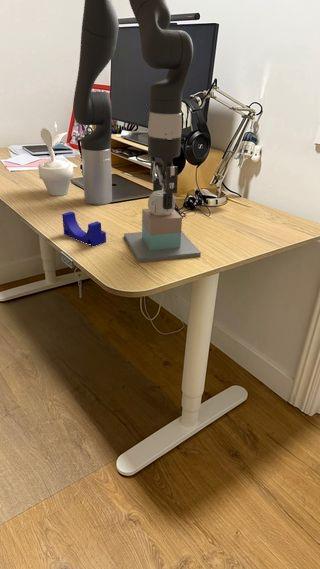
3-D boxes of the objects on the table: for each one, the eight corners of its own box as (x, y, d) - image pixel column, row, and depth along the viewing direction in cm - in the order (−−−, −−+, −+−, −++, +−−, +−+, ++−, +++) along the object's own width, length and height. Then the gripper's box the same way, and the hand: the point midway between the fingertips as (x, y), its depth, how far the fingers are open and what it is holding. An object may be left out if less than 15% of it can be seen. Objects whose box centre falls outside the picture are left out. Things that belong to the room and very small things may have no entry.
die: (147, 213, 99) (147, 193, 96) (158, 208, 102) (159, 189, 100) (164, 217, 96) (164, 197, 94) (175, 212, 100) (176, 192, 98)
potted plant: (56, 200, 133) (48, 120, 120) (34, 193, 139) (24, 116, 126) (84, 192, 142) (79, 117, 129) (62, 186, 148) (55, 113, 135)
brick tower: (124, 236, 108) (123, 204, 104) (179, 232, 112) (181, 201, 108) (138, 262, 95) (138, 227, 91) (200, 256, 99) (203, 222, 95)
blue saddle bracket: (106, 242, 105) (105, 221, 102) (93, 247, 102) (92, 225, 99) (77, 230, 112) (75, 210, 109) (64, 234, 109) (62, 214, 106)
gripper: (140, 129, 95) (140, 195, 103) (157, 140, 83) (155, 214, 91) (170, 128, 97) (167, 193, 105) (191, 139, 85) (186, 211, 93)
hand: (162, 203), depth 98 cm, fingers open, 8 cm apart
